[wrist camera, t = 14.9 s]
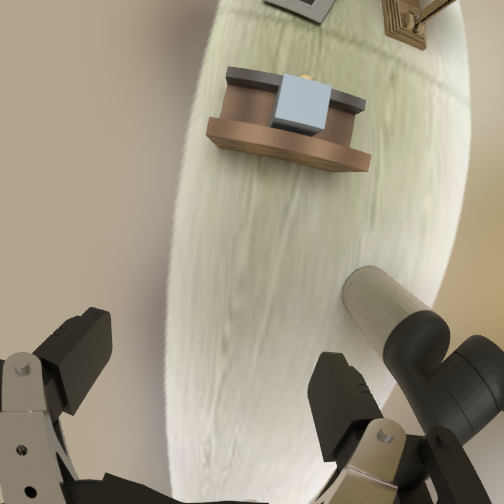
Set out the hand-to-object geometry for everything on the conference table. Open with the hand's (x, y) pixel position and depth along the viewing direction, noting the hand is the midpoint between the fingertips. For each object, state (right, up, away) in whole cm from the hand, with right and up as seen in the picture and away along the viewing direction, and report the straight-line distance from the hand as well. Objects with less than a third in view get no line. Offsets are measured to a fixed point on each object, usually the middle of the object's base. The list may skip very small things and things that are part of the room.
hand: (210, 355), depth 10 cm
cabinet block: (+7, +21, +24) cm, 33 cm away
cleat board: (+6, +22, +29) cm, 37 cm away
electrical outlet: (+11, +49, +23) cm, 55 cm away
